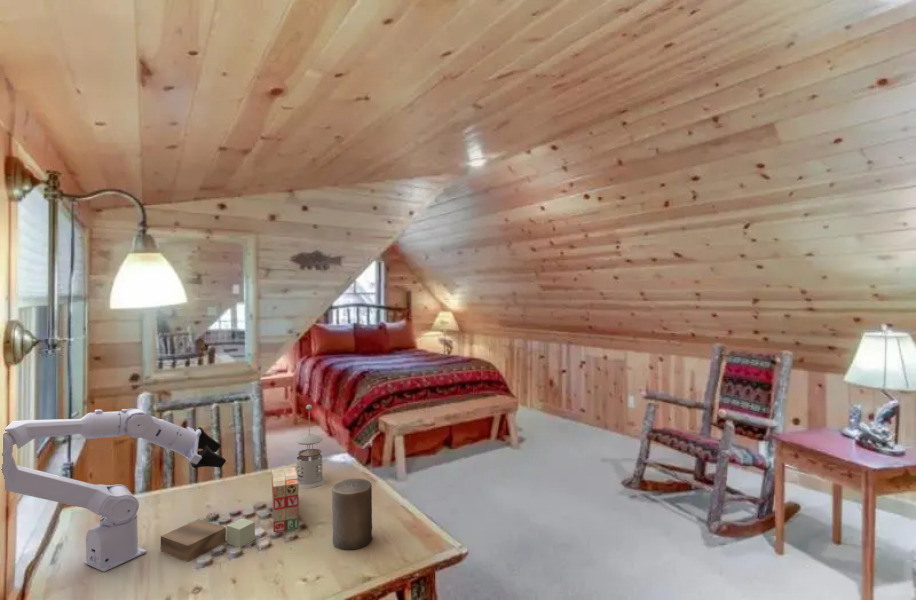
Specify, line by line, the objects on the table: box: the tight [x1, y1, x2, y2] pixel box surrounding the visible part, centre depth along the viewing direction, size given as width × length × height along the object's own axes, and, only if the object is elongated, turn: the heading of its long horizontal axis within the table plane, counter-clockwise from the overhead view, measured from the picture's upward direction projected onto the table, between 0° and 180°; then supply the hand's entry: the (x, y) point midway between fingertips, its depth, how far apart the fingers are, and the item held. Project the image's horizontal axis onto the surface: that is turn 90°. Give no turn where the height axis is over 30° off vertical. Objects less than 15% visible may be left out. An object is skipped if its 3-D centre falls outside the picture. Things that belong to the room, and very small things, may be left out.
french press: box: [295, 404, 326, 489], centre depth 164 cm, size 10×12×25 cm
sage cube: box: [226, 517, 256, 548], centre depth 125 cm, size 4×4×4 cm
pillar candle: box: [331, 478, 374, 551], centre depth 126 cm, size 10×10×15 cm
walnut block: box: [160, 518, 227, 562], centre depth 123 cm, size 10×10×4 cm
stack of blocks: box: [270, 466, 300, 533], centre depth 140 cm, size 21×6×12 cm, turn 21°
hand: (220, 455), depth 134 cm, fingers open, 7 cm apart
